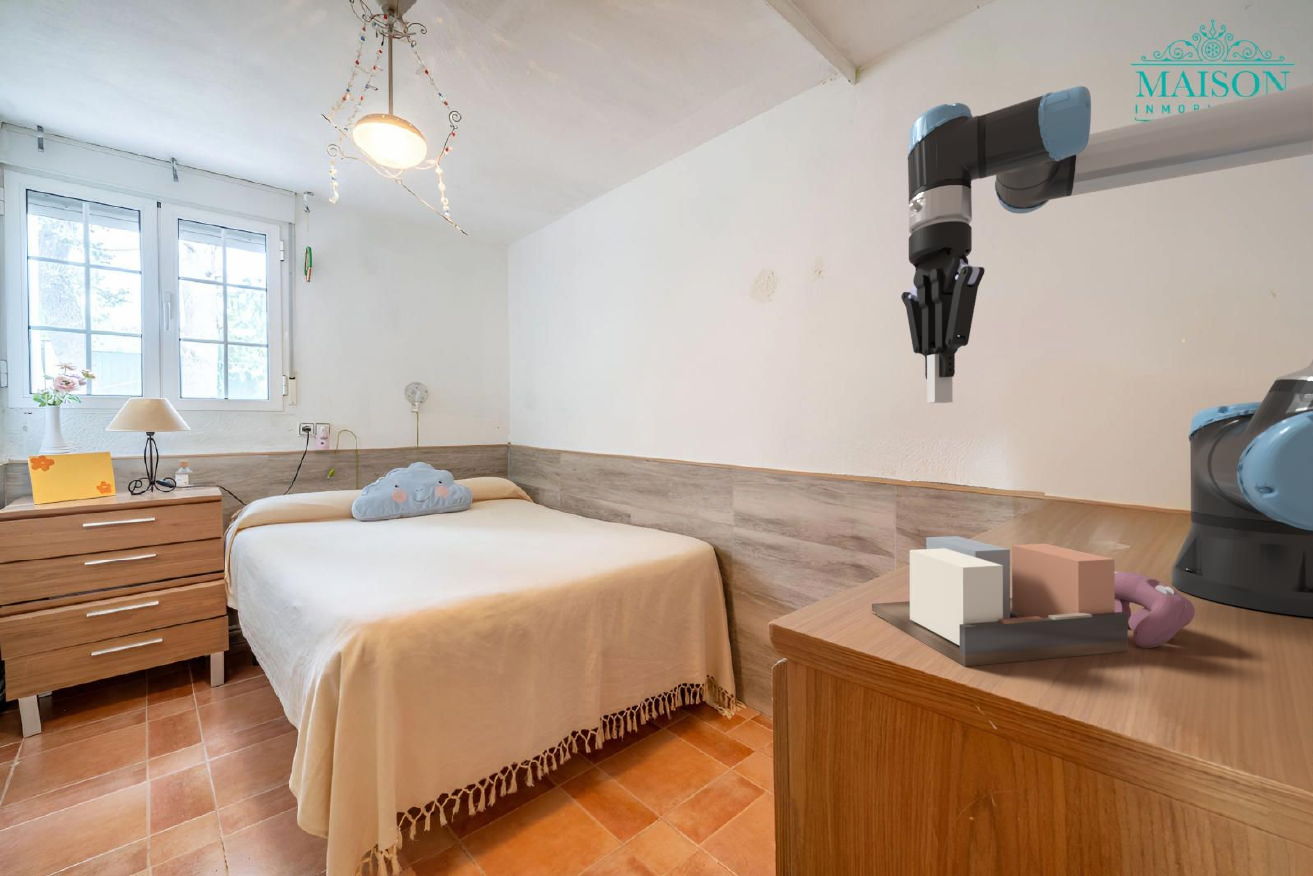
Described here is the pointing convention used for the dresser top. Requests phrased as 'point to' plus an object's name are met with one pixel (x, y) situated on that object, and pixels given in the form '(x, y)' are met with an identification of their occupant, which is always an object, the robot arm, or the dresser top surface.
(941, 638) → the tray
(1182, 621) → the video game controller
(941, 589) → the cream white block
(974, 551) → the blue-grey block
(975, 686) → the dresser top surface
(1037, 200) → the robot arm
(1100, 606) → the terracotta block
